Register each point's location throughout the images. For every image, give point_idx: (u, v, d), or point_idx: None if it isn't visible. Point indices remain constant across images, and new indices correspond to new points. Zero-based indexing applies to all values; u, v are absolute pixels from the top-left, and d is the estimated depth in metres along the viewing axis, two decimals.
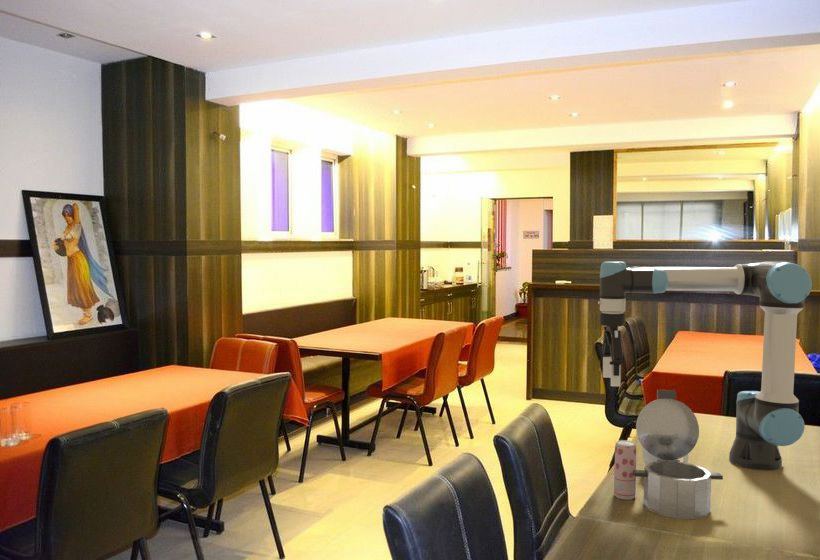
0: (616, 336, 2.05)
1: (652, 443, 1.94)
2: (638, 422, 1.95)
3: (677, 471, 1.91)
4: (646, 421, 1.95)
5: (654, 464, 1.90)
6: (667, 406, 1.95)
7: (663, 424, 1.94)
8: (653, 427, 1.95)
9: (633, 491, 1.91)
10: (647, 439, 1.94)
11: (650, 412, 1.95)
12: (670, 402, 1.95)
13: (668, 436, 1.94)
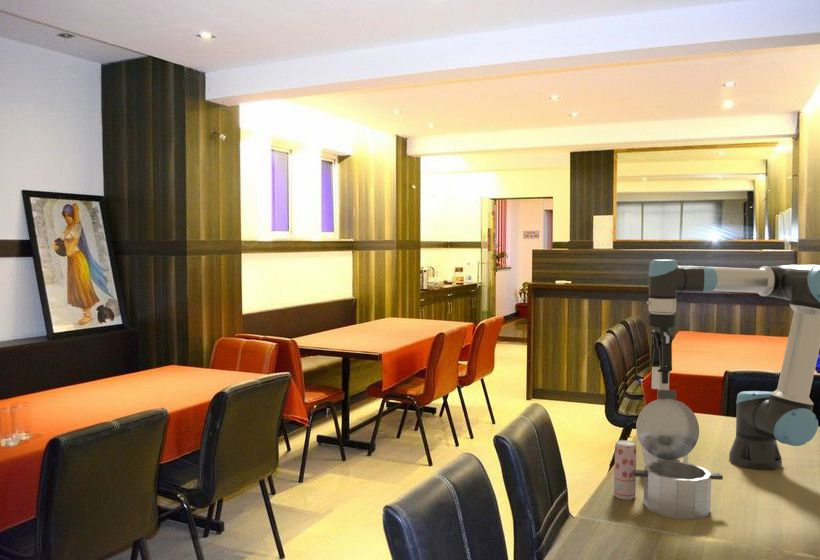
0: (667, 342, 1.96)
1: (652, 443, 1.94)
2: (638, 422, 1.95)
3: (677, 471, 1.91)
4: (646, 421, 1.95)
5: (654, 464, 1.90)
6: (667, 406, 1.95)
7: (663, 424, 1.94)
8: (653, 427, 1.94)
9: (633, 491, 1.91)
10: (647, 439, 1.94)
11: (650, 412, 1.95)
12: (670, 402, 1.95)
13: (669, 436, 1.94)
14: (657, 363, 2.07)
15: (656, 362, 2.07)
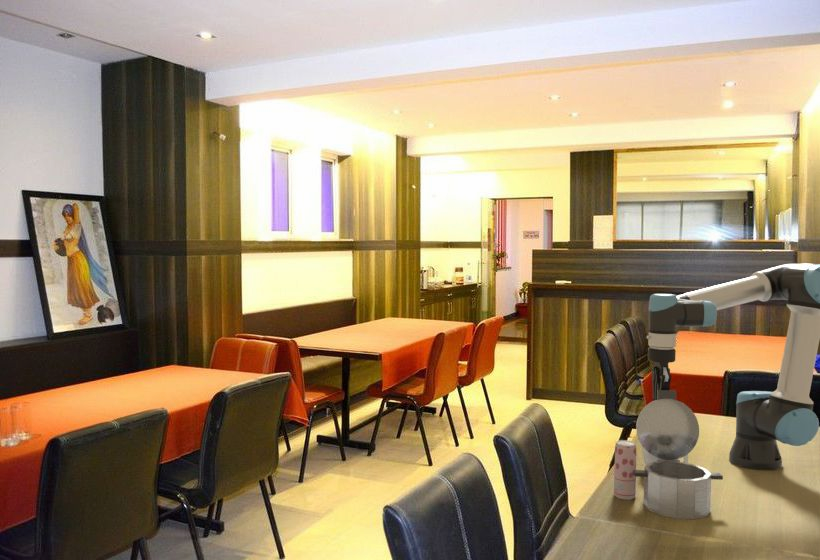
0: (666, 381, 1.96)
1: (652, 443, 1.94)
2: (638, 422, 1.95)
3: (677, 471, 1.91)
4: (646, 421, 1.95)
5: (654, 464, 1.90)
6: (667, 406, 1.95)
7: (663, 424, 1.94)
8: (653, 427, 1.94)
9: (633, 491, 1.91)
10: (647, 439, 1.94)
11: (650, 412, 1.95)
12: (670, 402, 1.95)
13: (669, 436, 1.94)
14: None
15: None
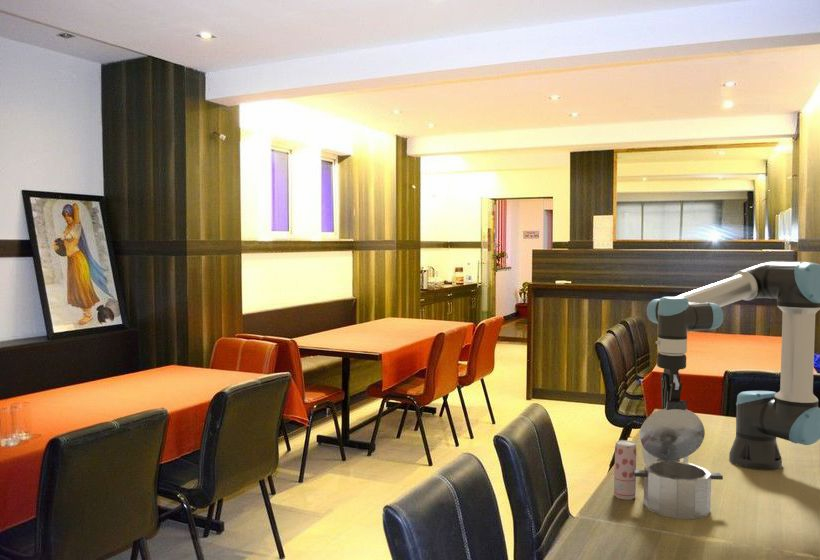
0: (676, 389, 1.86)
1: (654, 446, 1.92)
2: (643, 429, 1.90)
3: (677, 471, 1.91)
4: (651, 428, 1.89)
5: (654, 464, 1.90)
6: (675, 416, 1.87)
7: (668, 431, 1.89)
8: (657, 433, 1.90)
9: (633, 491, 1.91)
10: (650, 443, 1.91)
11: (656, 420, 1.88)
12: (679, 412, 1.87)
13: (672, 441, 1.90)
14: None
15: None
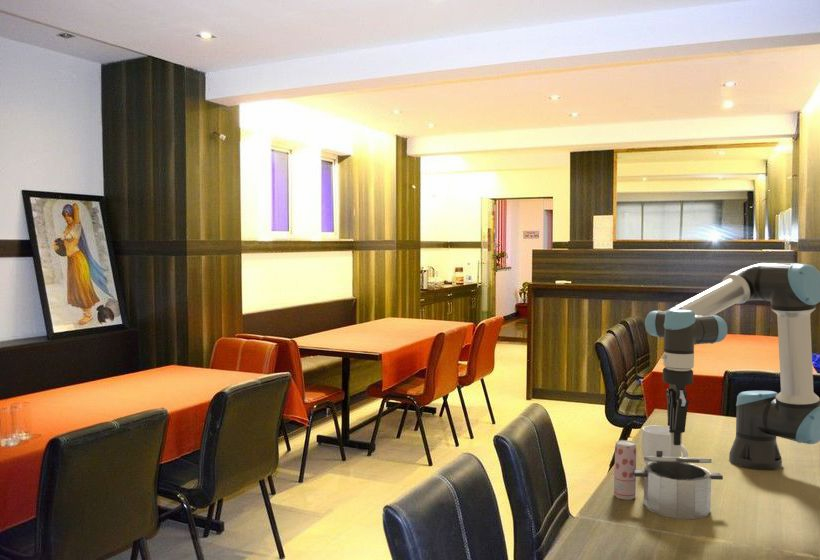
0: (683, 405, 1.80)
1: None
2: (647, 460, 1.84)
3: (677, 471, 1.91)
4: None
5: (654, 464, 1.90)
6: None
7: None
8: None
9: (633, 491, 1.91)
10: None
11: None
12: None
13: None
14: None
15: None
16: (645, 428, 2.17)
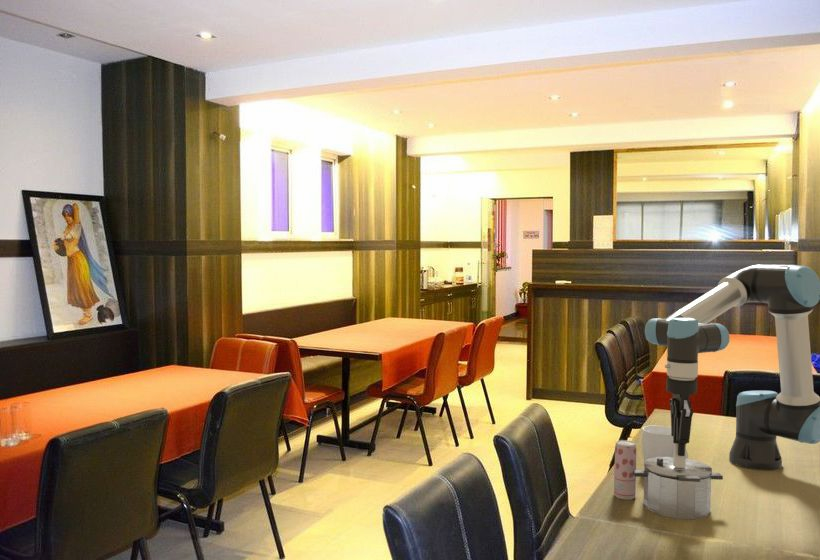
0: (687, 415, 1.76)
1: None
2: (648, 470, 1.84)
3: None
4: None
5: None
6: None
7: None
8: None
9: (633, 491, 1.91)
10: None
11: None
12: None
13: None
14: None
15: None
16: (645, 428, 2.17)
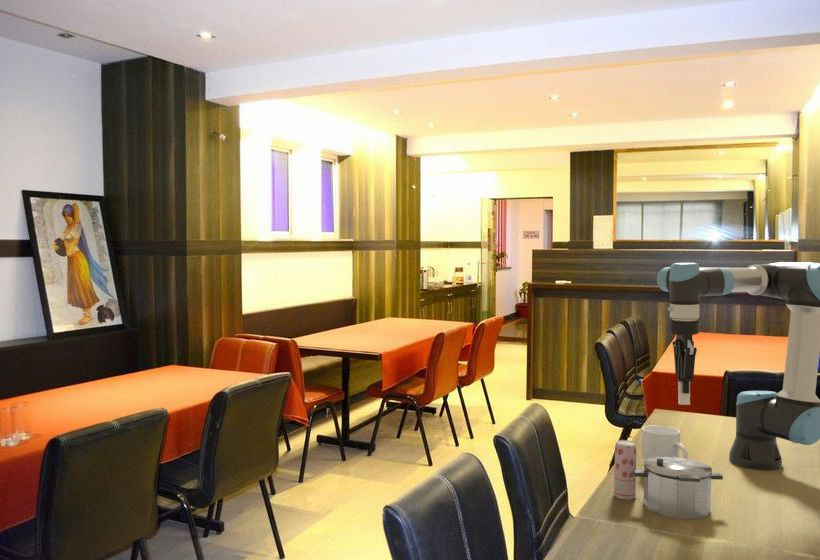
0: (691, 354, 1.86)
1: None
2: (648, 470, 1.84)
3: None
4: None
5: None
6: None
7: None
8: None
9: (633, 491, 1.91)
10: None
11: None
12: None
13: None
14: None
15: None
16: (645, 428, 2.17)
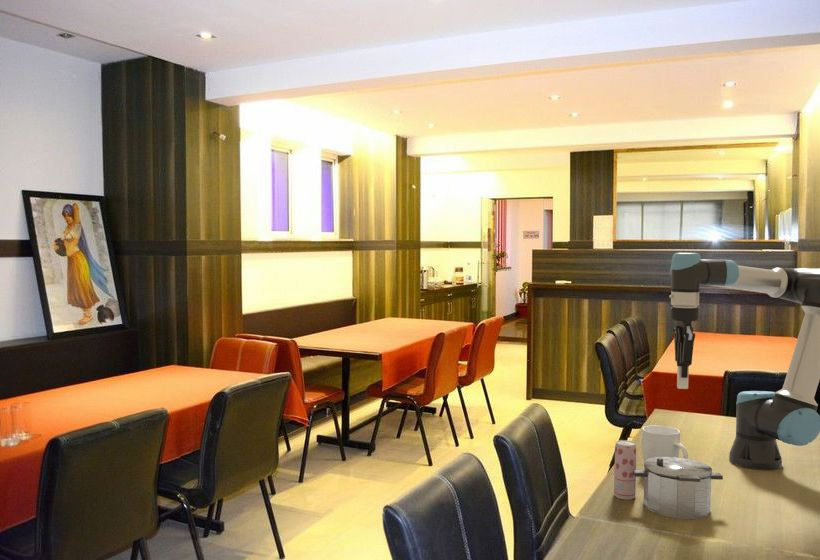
0: (689, 339, 1.95)
1: None
2: (648, 470, 1.84)
3: None
4: None
5: None
6: None
7: None
8: None
9: (633, 491, 1.91)
10: None
11: None
12: None
13: None
14: None
15: None
16: (645, 428, 2.17)
